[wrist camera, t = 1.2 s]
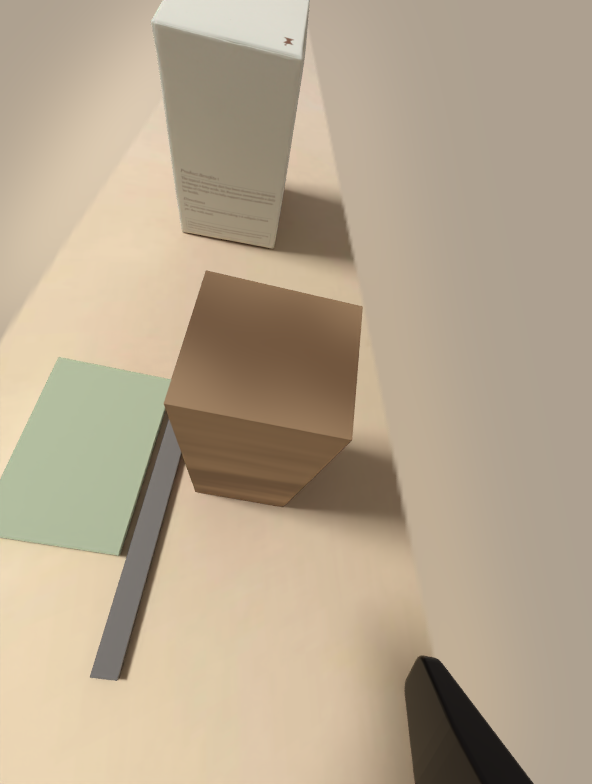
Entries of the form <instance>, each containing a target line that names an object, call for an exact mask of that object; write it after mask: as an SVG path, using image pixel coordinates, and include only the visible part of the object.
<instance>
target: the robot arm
mask: <svg viewBox="0 0 592 784" xmlns="http://www.w3.org/2000/svg"><path fill="white" fill-rule="evenodd" d="M405 700H406V709H407V718H408V727H409V736H410V745H411V754H412V763H413V772H414V779H415V784H533V782H532V781H531V780H530V778H529V777H528V776H527V775H526V773H525V772H524V771H523V769H522V768H521V767H520V765H519V764H518V763H517V761H516V760H515V759H514V757H513V756H512V755H511V753H510V752H509V751H508V749H507V748H506V747H505V745H504V744H503V743H502V741H501V740H500V739H499V738H498V736H497V735H496V734H495V732H494V731H493V730H492V728H491V727H490V726H489V724H488V723H487V722H486V720H485V719H484V718H483V717H482V715H481V714H480V713H479V711H478V710H477V708H476V707H475V706H474V705H473V703H472V702H471V701H470V699H469V698H468V697H467V695H466V694H465V693H464V691H463V690H462V689H461V688H460V686H459V685H458V684H457V682H456V681H455V680H454V678H453V677H452V676H451V674H450V673H449V672H448V670H447V669H446V668H445V666H444V665H443V664H442V663H441V662H440V661H439V660H438V659H436V658H433V657H428V656H419V657H418V658H417V659H416V661H415V663H414V665H413V667H412V669H411V671H410V673H409V675H408V677H407V679H406V682H405Z"/></svg>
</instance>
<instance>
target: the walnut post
mask: <svg viewBox="0 0 592 784" xmlns="http://www.w3.org/2000/svg"><path fill="white" fill-rule="evenodd" d="M362 309H363V307H362V306H358V305H353V304H349V303H345V302H340V301H336V300H332V299H327V298H323V297H319V296H314V295H310V294H306V293H301V292H297V291H293V290H288V289H284V288H280V287H275V286H271V285H267V284H262V283H258V282H254V281H249V280H245V279H241V278H236V277H232V276H228V275H223V274H219V273H215V272H210V271H206V272H205V275H204V278H203V281H202V285H201V288H200V291H199V294H198V297H197V300H196V303H195V307H194V310H193V313H192V316H191V319H190V322H189V325H188V328H187V332H186V335H185V338H184V341H183V344H182V347H181V350H180V354H179V357H178V360H177V363H176V366H175V369H174V372H173V375H172V379H171V382H170V385H169V388H168V391H167V394H166V397H165V401H164V406H165V409H166V412H167V415H168V417H169V420H170V423H171V426H172V428H173V431H174V434H175V437H176V439H177V442H178V445H179V448H180V450H181V453H182V456H183V459H184V461H185V464H186V467H187V470H188V472H189V475H190V478H191V481H192V483H193V486H194V489H195V492H199V493H205V494H211V495H216V496H222V497H228V498H234V499H240V500H245V501H251V502H257V503H263V504H268V505H274V506H280V507H283V506H285V505H286V504H287V503H288V502H289V501H290V500H291V499H292V498H293V497H294V496H295V495H296V494H297V493H298V492H299V491H300V490H301V489H302V488H303V487H304V486H305V485H306V484H307V483H308V482H309V481H310V480H311V479H312V478H313V477H315V476H316V475H317V474H318V473H319V472H320V471H321V470H322V469H323V468H324V467H325V466H326V465H327V464H328V463H329V462H330V461H331V460H332V459H333V458H334V457H335V456H336V455H337V454H338V453H339V452H340V451H341V450H342V449H343V448H344V447H346V446H347V445H348V444H349V443H350V442H351V441H352V434H353V421H354V409H355V396H356V384H357V371H358V359H359V346H360V334H361V321H362Z"/></svg>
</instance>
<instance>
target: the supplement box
mask: <svg viewBox="0 0 592 784" xmlns="http://www.w3.org/2000/svg"><path fill="white" fill-rule="evenodd" d="M309 2H310V0H163V1H162V3H161V4H160V6H159V8H158V10H157V11H156V13H155V15H154V17H153V19H152V20H151V25H152V31H153V36H154V41H155V47H156V53H157V59H158V65H159V73H160V80H161V87H162V95H163V102H164V109H165V116H166V124H167V132H168V139H169V147H170V154H171V161H172V169H173V176H174V183H175V190H176V197H177V202H178V209H179V216H180V223H181V229H182V232H186V233H192V234H198V235H204V236H209V237H214V238H219V239H225V240H230V241H236V242H241V243H246V244H251V245H256V246H262V247H267V248H274V245H275V240H276V235H277V229H278V224H279V218H280V212H281V206H282V200H283V194H284V188H285V181H286V175H287V168H288V161H289V155H290V149H291V142H292V136H293V130H294V123H295V117H296V111H297V104H298V98H299V92H300V85H301V79H302V72H303V66H304V58H305V49H306V38H307V27H308V14H309Z"/></svg>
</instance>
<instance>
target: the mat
mask: <svg viewBox="0 0 592 784" xmlns="http://www.w3.org/2000/svg"><path fill="white" fill-rule="evenodd" d="M170 382H171V379H166V378H161V377H156V376H151V375H146V374H141V373H136V372H131V371H126V370H121V369H116V368H111V367H106V366H101V365H96V364H91V363H86V362H81V361H76V360H71V359H66V358H61V357H58V359H57V361H56V364H55V366H54V368H53V370H52V372H51V374H50V376H49V378H48V380H47V382H46V384H45V387H44V389H43V391H42V393H41V395H40V397H39V399H38V401H37V403H36V405H35V407H34V410H33V412H32V414H31V416H30V418H29V420H28V422H27V424H26V426H25V428H24V430H23V433H22V435H21V437H20V439H19V441H18V443H17V445H16V447H15V449H14V451H13V454H12V456H11V458H10V460H9V462H8V464H7V466H6V468H5V470H4V472H3V474H2V477H1V479H0V537H1V538H7V539H14V540H20V541H27V542H33V543H40V544H46V545H53V546H59V547H66V548H72V549H79V550H85V551H92V552H98V553H105V554H111V555H117V556H120V554H121V551H122V548H123V545H124V541H125V538H126V535H127V532H128V529H129V525H130V522H131V519H132V516H133V513H134V509H135V506H136V503H137V500H138V497H139V494H140V490H141V487H142V484H143V481H144V478H145V474H146V471H147V468H148V465H149V462H150V458H151V455H152V452H153V449H154V446H155V443H156V439H157V436H158V433H159V430H160V427H161V423H162V420H163V417H164V414H165V411H166V409H165V406H164V401H165V397H166V394H167V391H168V388H169V385H170Z"/></svg>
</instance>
